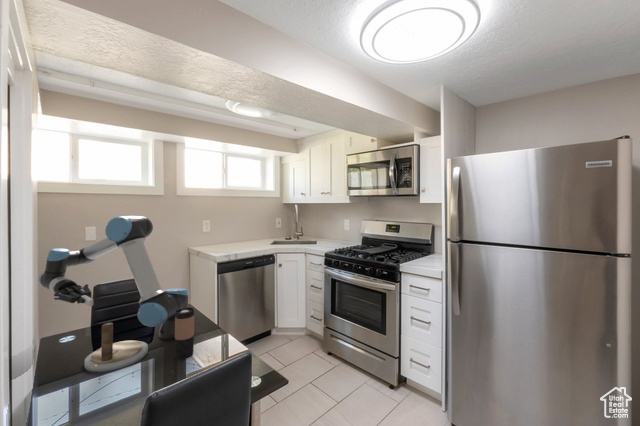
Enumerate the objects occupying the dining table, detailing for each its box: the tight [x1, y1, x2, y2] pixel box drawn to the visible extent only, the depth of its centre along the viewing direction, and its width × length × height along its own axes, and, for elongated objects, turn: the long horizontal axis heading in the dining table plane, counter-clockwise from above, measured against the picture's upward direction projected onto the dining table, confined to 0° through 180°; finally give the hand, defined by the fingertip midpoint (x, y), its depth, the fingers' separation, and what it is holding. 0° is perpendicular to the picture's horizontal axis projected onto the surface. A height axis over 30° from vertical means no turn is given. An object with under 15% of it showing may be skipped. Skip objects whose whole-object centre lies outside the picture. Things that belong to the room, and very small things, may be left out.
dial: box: [91, 322, 143, 364], centre depth 118 cm, size 18×18×15 cm
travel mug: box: [174, 307, 195, 361], centre depth 120 cm, size 8×8×20 cm
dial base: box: [84, 340, 149, 373], centre depth 118 cm, size 22×22×2 cm
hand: (91, 302), depth 120 cm, fingers closed
